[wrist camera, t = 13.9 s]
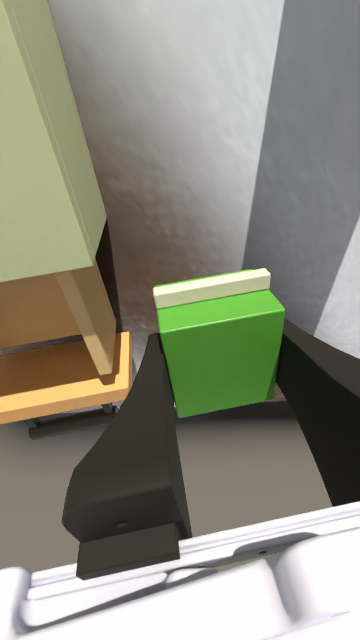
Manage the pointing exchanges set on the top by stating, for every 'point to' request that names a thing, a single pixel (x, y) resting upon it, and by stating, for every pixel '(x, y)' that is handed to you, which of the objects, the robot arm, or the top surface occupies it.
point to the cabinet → (42, 153)
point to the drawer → (61, 353)
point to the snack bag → (220, 340)
